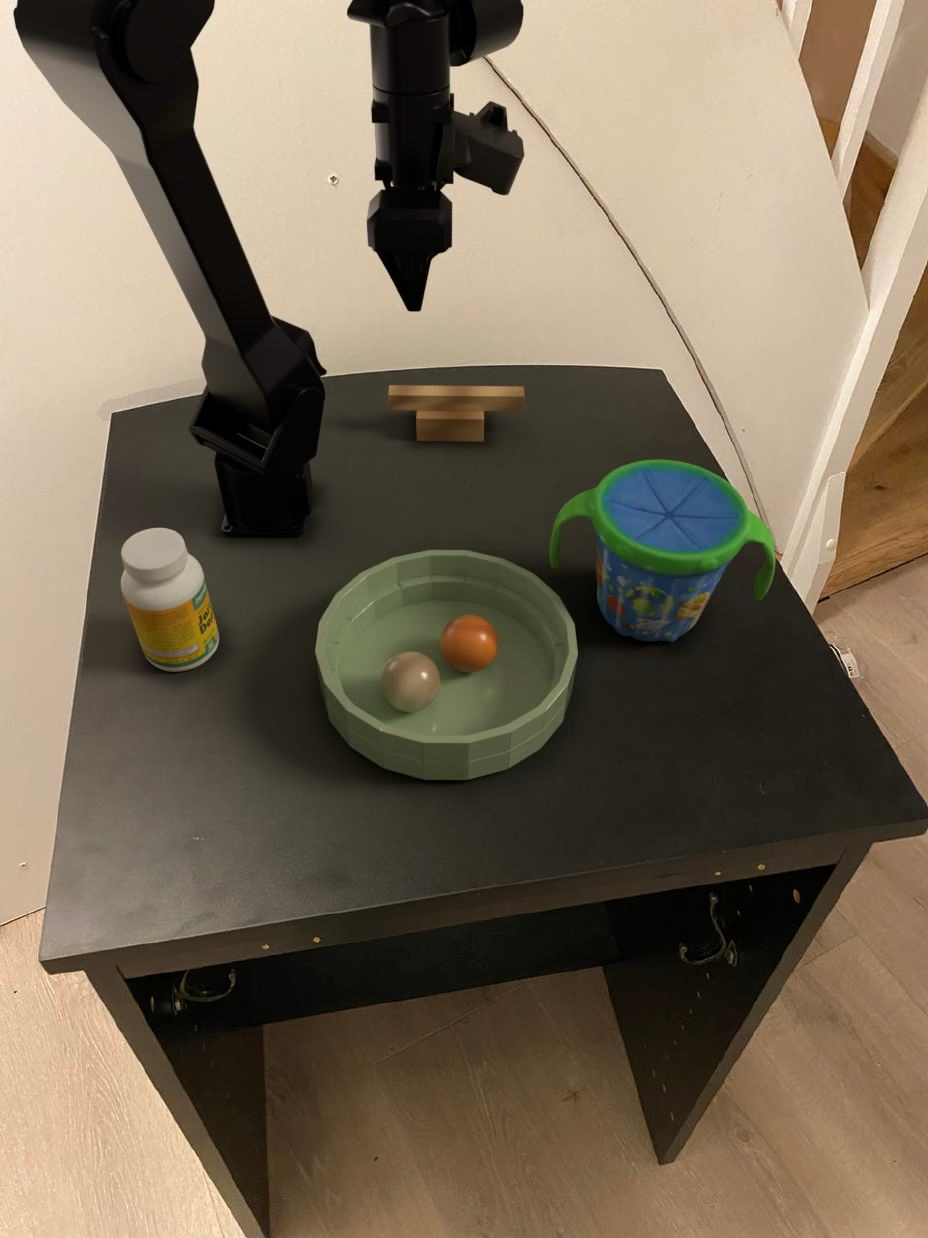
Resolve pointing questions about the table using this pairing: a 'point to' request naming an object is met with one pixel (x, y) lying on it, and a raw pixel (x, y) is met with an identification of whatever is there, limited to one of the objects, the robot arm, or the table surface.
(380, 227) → the robot arm
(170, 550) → the supplement bottle
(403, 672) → the ball taupe
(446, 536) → the table surface
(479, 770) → the bowl
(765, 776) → the table surface
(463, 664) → the ball tangerine
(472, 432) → the block
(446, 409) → the wooden bar
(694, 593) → the snack cup
